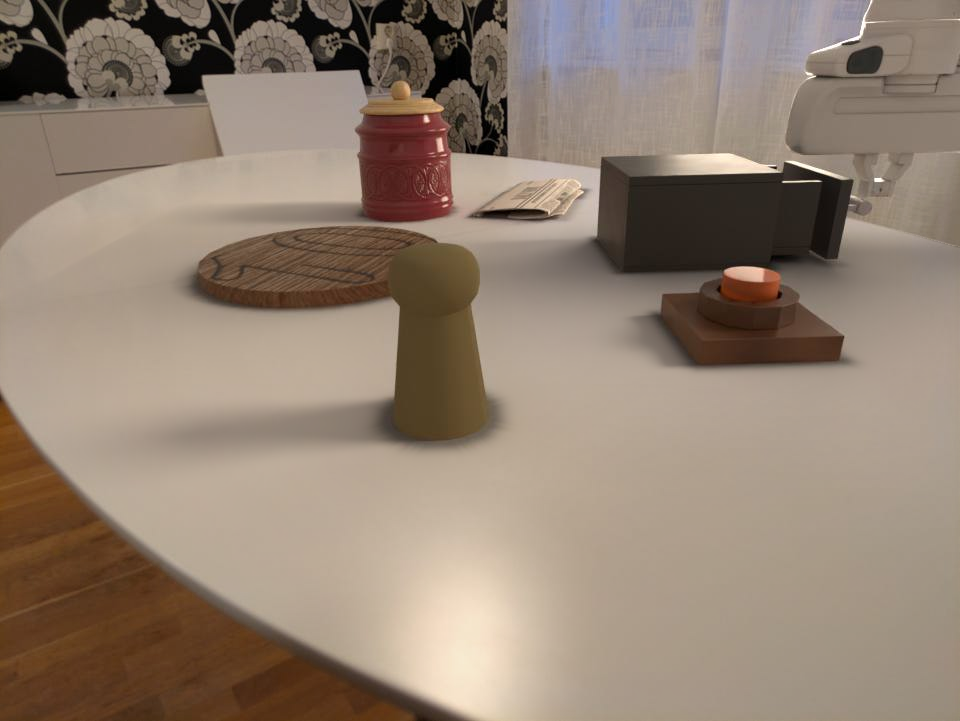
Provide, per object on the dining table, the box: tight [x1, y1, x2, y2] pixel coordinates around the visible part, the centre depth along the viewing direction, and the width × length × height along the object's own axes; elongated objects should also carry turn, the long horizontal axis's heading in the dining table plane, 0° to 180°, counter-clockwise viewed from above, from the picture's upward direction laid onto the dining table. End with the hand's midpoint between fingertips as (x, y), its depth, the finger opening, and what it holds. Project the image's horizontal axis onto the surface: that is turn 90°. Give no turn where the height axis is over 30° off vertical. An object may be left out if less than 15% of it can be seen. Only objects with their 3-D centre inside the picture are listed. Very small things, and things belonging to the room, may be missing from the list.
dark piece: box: [763, 160, 873, 260], centre depth 72 cm, size 18×13×8 cm
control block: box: [659, 277, 845, 366], centre depth 51 cm, size 10×10×4 cm
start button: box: [720, 266, 782, 302], centre depth 50 cm, size 4×4×2 cm
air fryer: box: [596, 152, 784, 274], centre depth 72 cm, size 15×14×10 cm
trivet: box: [196, 225, 439, 309], centre depth 71 cm, size 25×25×2 cm
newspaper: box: [473, 178, 585, 220], centre depth 100 cm, size 23×12×2 cm, turn 161°
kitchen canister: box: [354, 80, 454, 223], centre depth 92 cm, size 13×13×18 cm
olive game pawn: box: [387, 242, 490, 442], centre depth 39 cm, size 6×6×11 cm
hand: (874, 196), depth 72 cm, fingers closed
